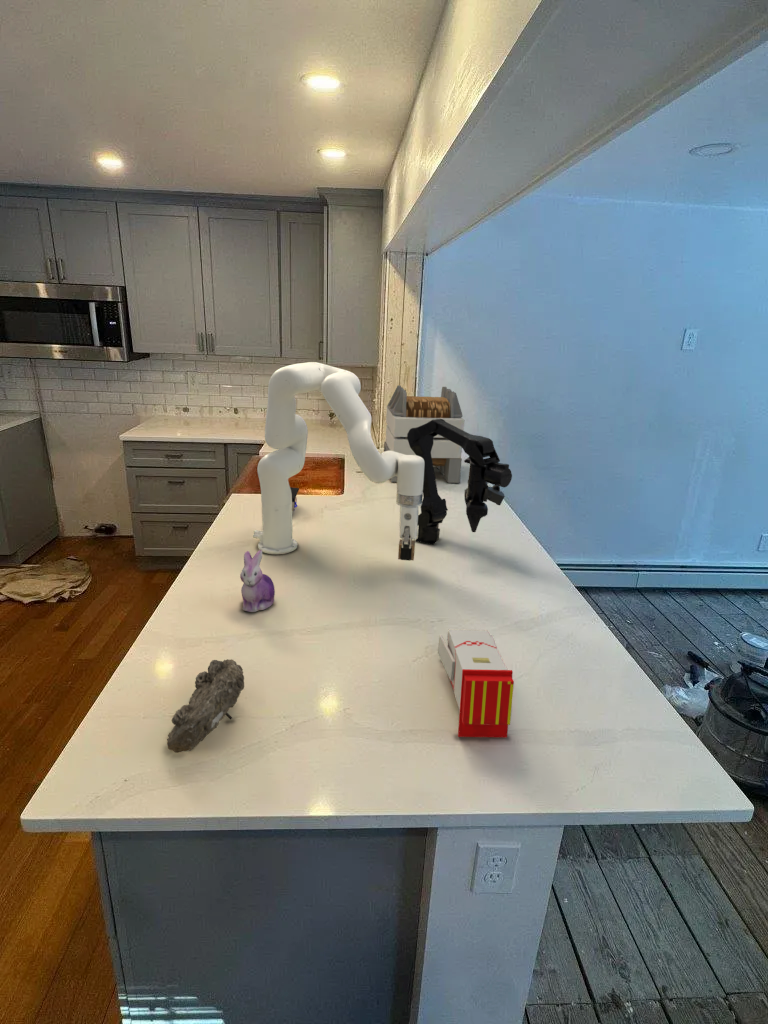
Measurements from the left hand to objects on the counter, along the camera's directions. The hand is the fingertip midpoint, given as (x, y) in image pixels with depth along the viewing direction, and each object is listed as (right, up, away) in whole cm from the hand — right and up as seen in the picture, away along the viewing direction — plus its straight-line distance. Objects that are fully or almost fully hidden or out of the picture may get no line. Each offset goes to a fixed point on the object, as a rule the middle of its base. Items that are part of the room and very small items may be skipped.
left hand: (406, 555), depth 169 cm
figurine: (-40, -11, -20) cm, 46 cm away
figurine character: (-43, +14, +48) cm, 66 cm away
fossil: (-39, -26, -61) cm, 77 cm away
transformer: (+11, +32, +106) cm, 111 cm away
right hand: (+21, +8, +10) cm, 25 cm away
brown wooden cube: (0, 0, 0) cm, 0 cm away
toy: (+11, -25, -51) cm, 57 cm away
